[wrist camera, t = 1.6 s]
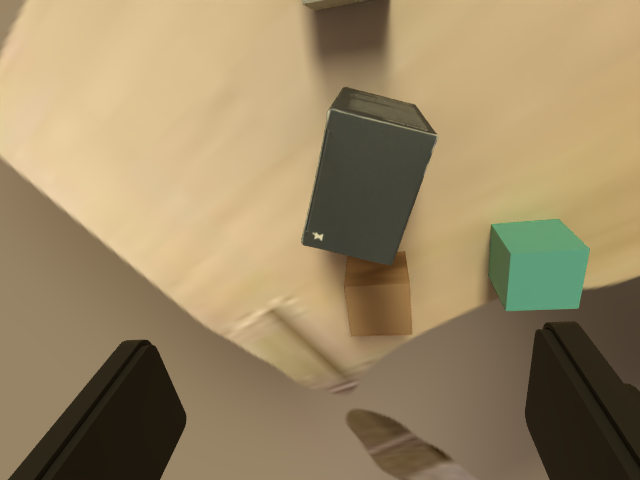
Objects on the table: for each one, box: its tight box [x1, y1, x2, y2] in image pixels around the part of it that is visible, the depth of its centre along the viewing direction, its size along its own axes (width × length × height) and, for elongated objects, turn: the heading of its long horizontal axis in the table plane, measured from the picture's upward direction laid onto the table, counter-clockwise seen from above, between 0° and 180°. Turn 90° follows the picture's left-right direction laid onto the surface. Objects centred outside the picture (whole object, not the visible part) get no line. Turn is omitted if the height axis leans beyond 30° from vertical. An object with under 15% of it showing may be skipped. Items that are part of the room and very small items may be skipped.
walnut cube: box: [344, 252, 412, 336], centre depth 32 cm, size 5×5×5 cm
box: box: [301, 87, 438, 265], centre depth 24 cm, size 8×6×11 cm
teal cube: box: [488, 219, 590, 311], centre depth 29 cm, size 5×5×5 cm
